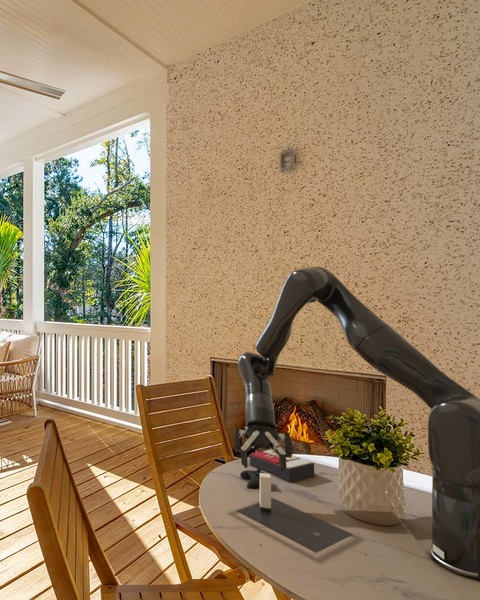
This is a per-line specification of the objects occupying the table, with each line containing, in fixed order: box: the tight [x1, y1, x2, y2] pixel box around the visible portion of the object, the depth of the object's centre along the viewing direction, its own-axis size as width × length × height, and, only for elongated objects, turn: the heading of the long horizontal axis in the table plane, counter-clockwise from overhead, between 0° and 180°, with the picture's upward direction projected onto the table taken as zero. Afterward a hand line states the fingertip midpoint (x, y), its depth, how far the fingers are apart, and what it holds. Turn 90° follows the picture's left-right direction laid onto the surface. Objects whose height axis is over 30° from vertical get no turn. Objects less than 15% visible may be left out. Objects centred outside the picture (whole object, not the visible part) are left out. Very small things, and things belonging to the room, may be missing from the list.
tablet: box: [236, 497, 354, 554], centre depth 100 cm, size 22×16×1 cm
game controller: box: [239, 468, 265, 490], centre depth 123 cm, size 10×5×6 cm
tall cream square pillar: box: [259, 472, 272, 512], centre depth 106 cm, size 2×2×8 cm
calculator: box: [249, 449, 315, 482], centre depth 133 cm, size 11×4×15 cm
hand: (263, 469), depth 109 cm, fingers open, 8 cm apart
